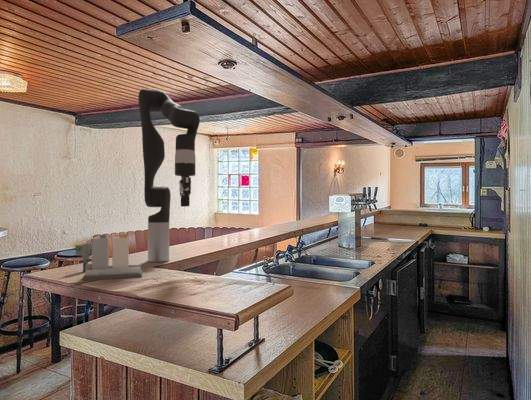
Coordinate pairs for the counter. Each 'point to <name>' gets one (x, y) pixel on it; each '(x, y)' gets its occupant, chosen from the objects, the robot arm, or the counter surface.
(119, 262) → the cream module
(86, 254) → the mechanical component
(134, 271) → the grey l-shaped block
